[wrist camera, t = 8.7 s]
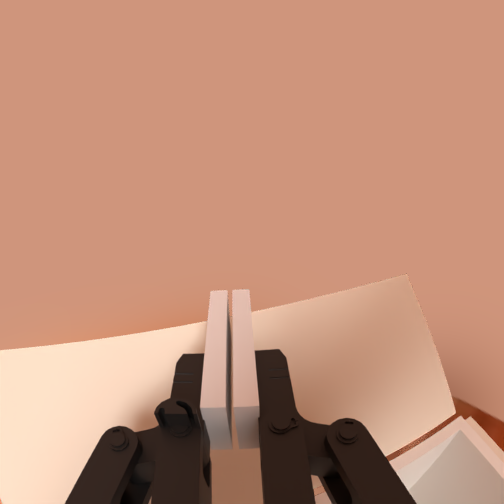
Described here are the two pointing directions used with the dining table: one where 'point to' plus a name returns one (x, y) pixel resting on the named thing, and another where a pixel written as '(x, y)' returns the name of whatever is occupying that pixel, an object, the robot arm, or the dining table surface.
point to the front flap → (265, 338)
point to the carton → (451, 467)
